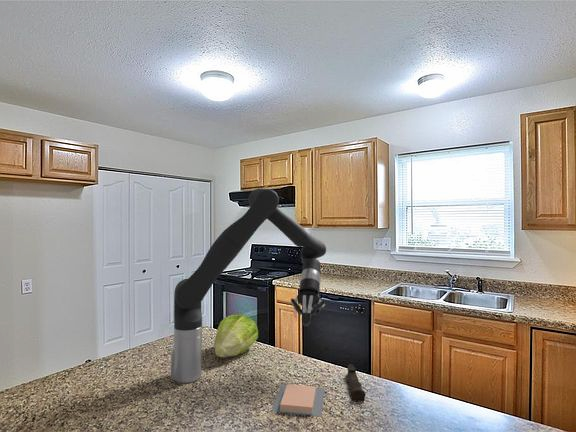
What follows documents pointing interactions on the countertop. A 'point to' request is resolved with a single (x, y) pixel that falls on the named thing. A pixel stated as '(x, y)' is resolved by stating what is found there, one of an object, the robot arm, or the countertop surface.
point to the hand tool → (355, 384)
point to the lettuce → (235, 335)
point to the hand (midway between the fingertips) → (305, 324)
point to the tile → (298, 399)
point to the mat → (316, 412)
